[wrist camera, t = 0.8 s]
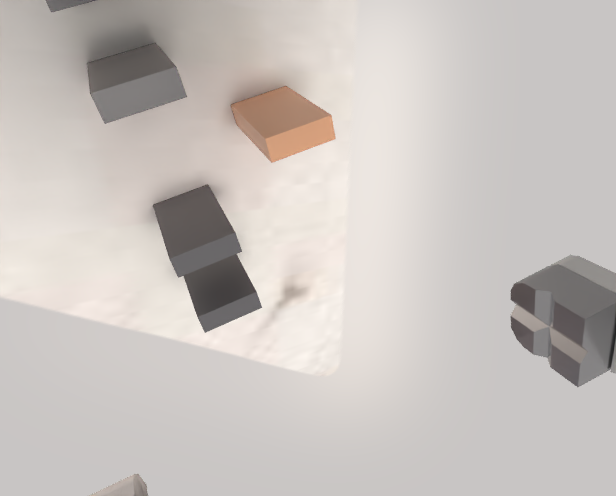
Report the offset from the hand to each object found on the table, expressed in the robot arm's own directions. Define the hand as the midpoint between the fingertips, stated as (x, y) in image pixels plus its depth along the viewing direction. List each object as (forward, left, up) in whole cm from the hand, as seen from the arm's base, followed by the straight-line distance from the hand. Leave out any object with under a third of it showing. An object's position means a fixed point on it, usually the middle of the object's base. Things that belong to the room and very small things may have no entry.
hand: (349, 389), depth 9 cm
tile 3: (0, -1, -33) cm, 33 cm away
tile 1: (+18, -1, -33) cm, 37 cm away
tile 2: (+12, -1, -33) cm, 35 cm away
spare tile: (+6, +8, -33) cm, 34 cm away
